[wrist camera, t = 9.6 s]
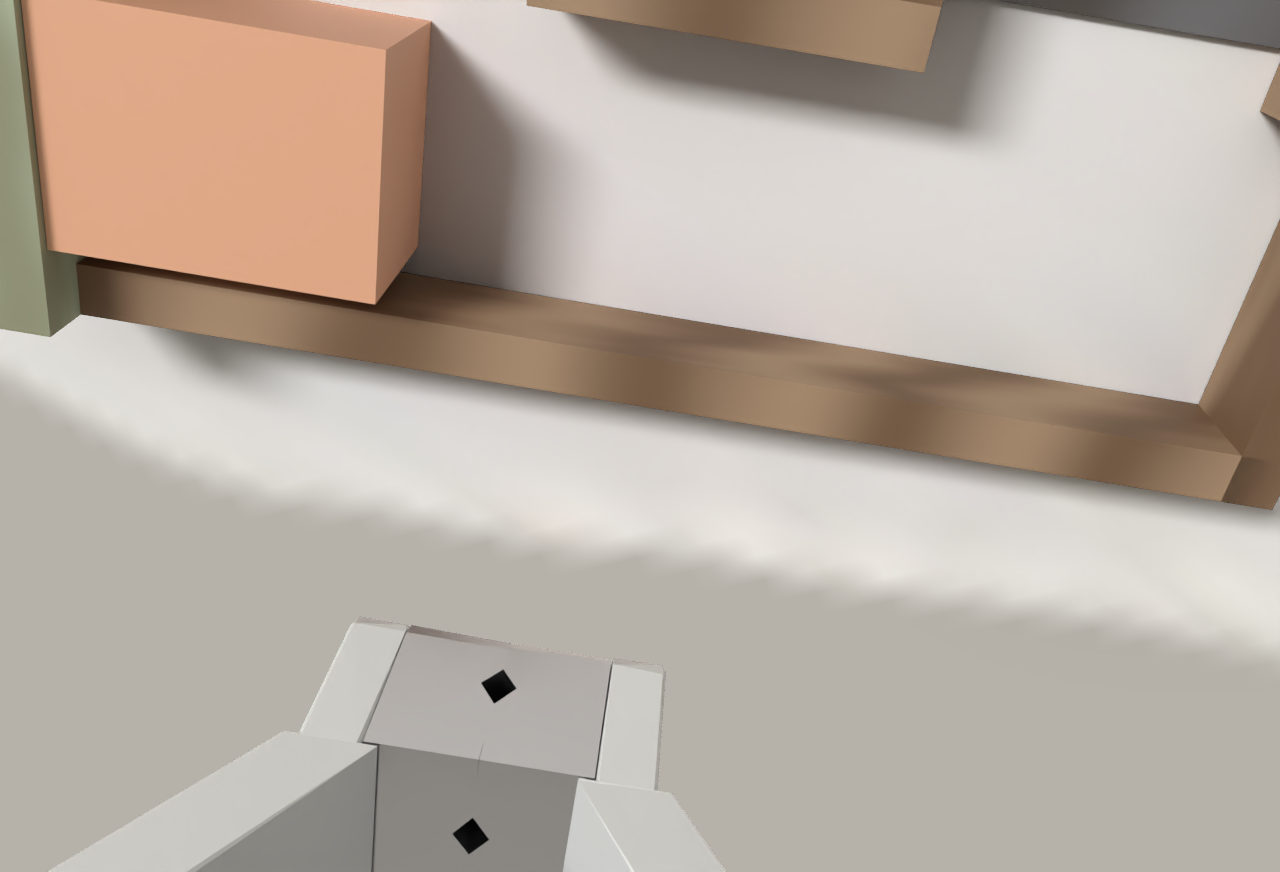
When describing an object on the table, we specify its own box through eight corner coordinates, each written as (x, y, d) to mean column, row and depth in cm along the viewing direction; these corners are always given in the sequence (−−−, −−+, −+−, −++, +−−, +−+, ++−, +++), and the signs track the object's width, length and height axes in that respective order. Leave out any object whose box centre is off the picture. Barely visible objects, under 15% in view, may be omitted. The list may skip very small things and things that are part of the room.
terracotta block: (432, 19, 28) (386, 49, 24) (419, 245, 31) (375, 304, 27) (118, -35, 28) (19, -14, 24) (133, 196, 31) (47, 249, 27)
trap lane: (1613, -376, 23) (1799, -420, 19) (1227, 455, 32) (1298, 541, 28) (-1, -664, 22) (-155, -770, 18) (84, 266, 32) (-6, 327, 28)
